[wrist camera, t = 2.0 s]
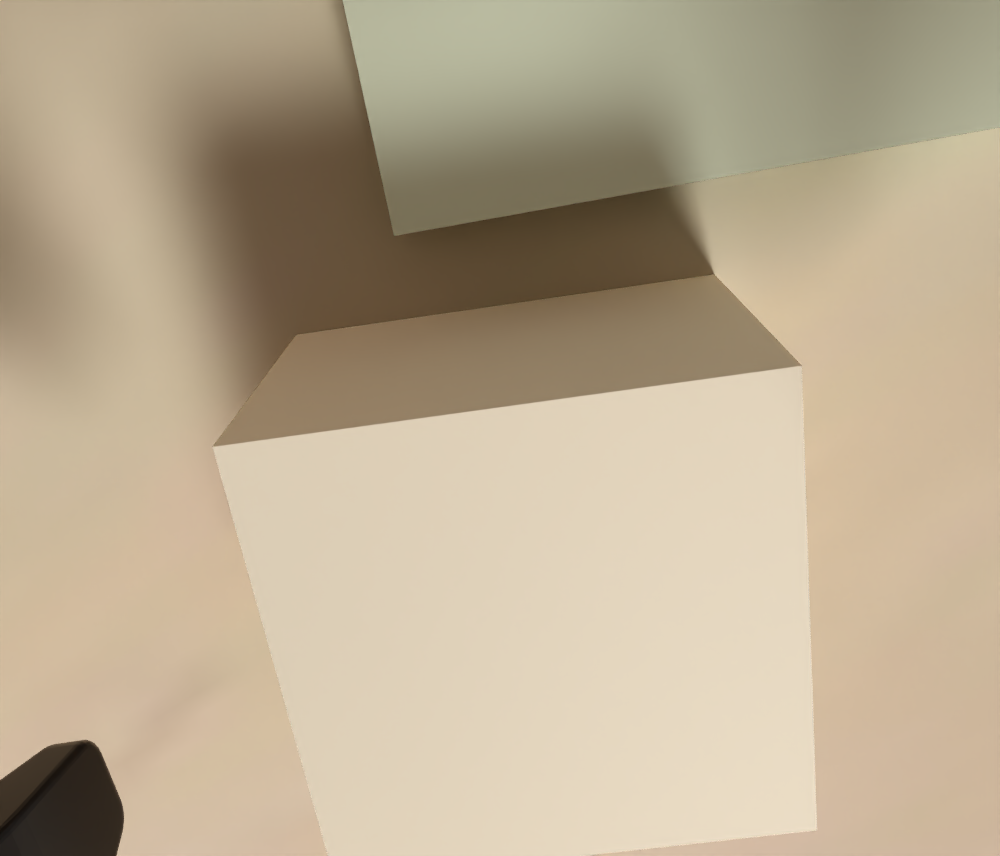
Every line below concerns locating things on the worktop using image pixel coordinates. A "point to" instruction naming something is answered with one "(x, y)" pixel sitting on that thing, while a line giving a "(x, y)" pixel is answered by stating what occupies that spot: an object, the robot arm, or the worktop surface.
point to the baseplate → (651, 92)
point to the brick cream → (537, 574)
